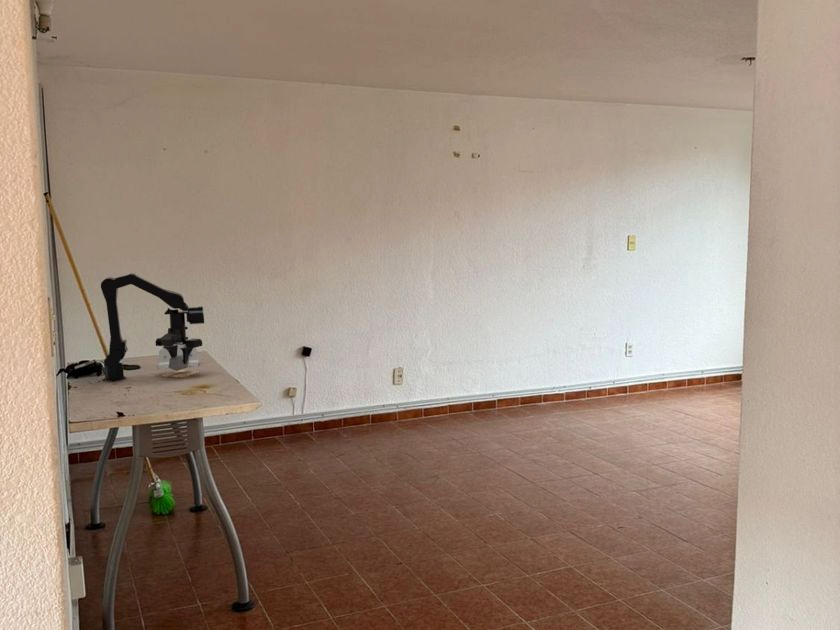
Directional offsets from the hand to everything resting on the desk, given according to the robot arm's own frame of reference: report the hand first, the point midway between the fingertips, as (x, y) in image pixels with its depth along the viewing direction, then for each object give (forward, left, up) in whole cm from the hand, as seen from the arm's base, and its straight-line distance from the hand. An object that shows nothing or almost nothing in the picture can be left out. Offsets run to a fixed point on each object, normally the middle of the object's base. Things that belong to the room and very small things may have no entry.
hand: (180, 363), depth 317 cm
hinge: (-12, +15, -5) cm, 20 cm away
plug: (+2, +1, 0) cm, 2 cm away
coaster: (0, 0, -4) cm, 4 cm away
